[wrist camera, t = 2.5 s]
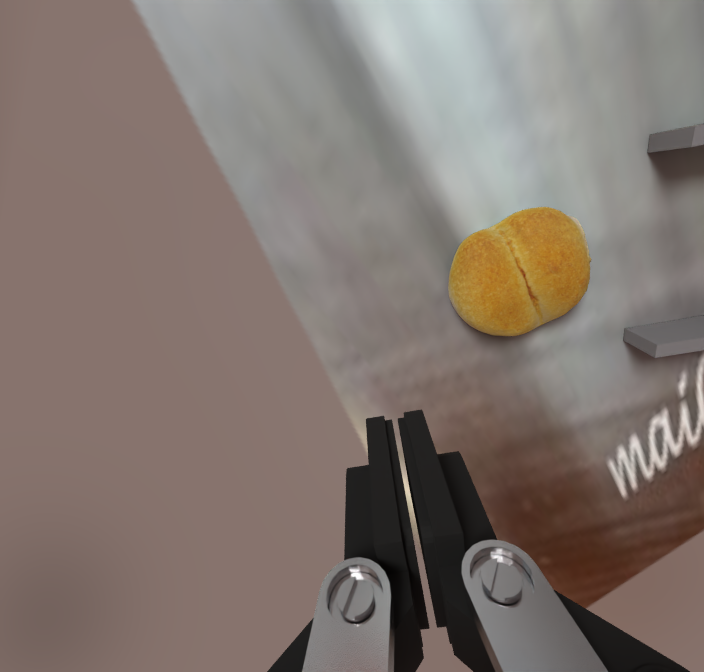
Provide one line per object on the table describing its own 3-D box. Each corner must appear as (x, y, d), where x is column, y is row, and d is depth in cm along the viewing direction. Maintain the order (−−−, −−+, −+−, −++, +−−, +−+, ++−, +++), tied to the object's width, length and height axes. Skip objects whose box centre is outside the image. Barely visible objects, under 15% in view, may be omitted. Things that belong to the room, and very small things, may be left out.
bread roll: (427, 253, 24) (441, 264, 20) (554, 188, 22) (594, 187, 19) (468, 347, 27) (487, 372, 23) (584, 296, 25) (623, 314, 21)
